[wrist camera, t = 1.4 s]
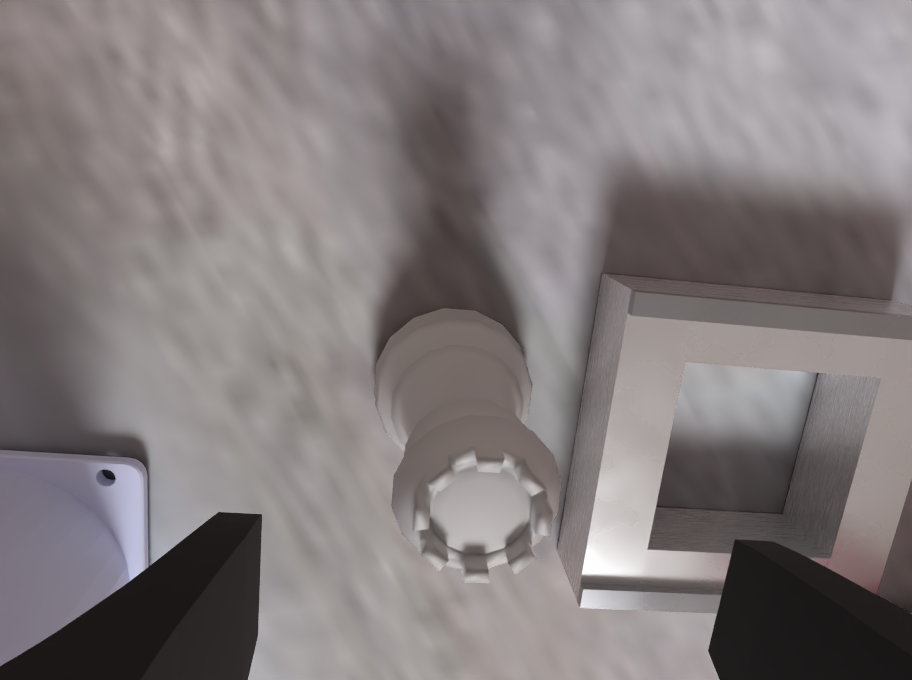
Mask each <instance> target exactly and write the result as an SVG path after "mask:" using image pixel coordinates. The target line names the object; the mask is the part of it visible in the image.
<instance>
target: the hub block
mask: <svg viewBox="0 0 912 680" xmlns="http://www.w3.org/2000/svg"><path fill="white" fill-rule="evenodd" d="M685 362H691V363H704V364H716V365H728V366H741V367H753V368H765V369H778V370H790V371H802V372H815V373H818V377H817V381H816V385H815V389H814V393H813V397H812V401H811V405H810V408H809V412H808V416H807V420H806V424H805V428H804V432H803V436H802V440H801V444H800V448H799V452H798V455H797V459H796V463H795V467H794V471H793V475H792V479H791V483H790V487H789V491H788V495H787V498H786V502H785V506H784V510H783V514H772V513H754V512H737V511H719V510H701V509H684V508H666V507H656V504H657V499H658V494H659V489H660V484H661V480H662V475H663V470H664V465H665V460H666V455H667V450H668V445H669V440H670V435H671V430H672V425H673V420H674V415H675V410H676V405H677V400H678V395H679V390H680V385H681V380H682V375H683V370H684V365H685ZM911 480H912V306H910V305H906V304H903V303H899V302H896V301H891V300H880V299H869V298H859V297H848V296H838V295H827V294H816V293H806V292H795V291H784V290H774V289H763V288H753V287H742V286H731V285H721V284H710V283H700V282H689V281H678V280H668V279H657V278H646V277H636V276H625V275H615V274H604V273H602V278H601V284H600V290H599V296H598V302H597V309H596V315H595V321H594V327H593V333H592V339H591V345H590V352H589V358H588V364H587V370H586V376H585V382H584V389H583V395H582V401H581V407H580V413H579V419H578V426H577V432H576V438H575V444H574V450H573V456H572V462H571V469H570V475H569V481H568V487H567V493H566V499H565V506H564V512H563V518H562V524H561V530H560V536H559V542H558V549H557V552H558V555H559V557H560V559H561V562H562V564H563V567H564V569H565V572H566V574H567V577H568V579H569V582H570V584H571V587H572V589H573V592H574V594H575V597H576V599H577V602H578V604H579V607H580V608H594V609H619V610H645V611H670V612H695V613H717V612H718V608H719V604H720V599H721V595H722V591H723V587H724V583H725V578H726V574H727V570H728V566H729V562H730V557H731V553H732V549H733V545H734V541H735V539H740V540H759V541H773V542H775V543H778V544H780V545H782V546H785V547H787V548H789V549H791V550H793V551H796V552H798V553H800V554H802V555H804V556H806V557H808V558H810V559H812V560H813V561H815V562H817V563H819V564H821V565H823V566H825V567H827V568H829V569H830V570H832V571H834V572H836V573H838V574H840V575H841V576H843V577H845V578H847V579H849V580H851V581H852V582H854V583H856V584H858V585H860V586H861V587H863V588H865V589H867V590H869V591H870V592H872V593H874V594H876V595H877V591H878V588H879V585H880V582H881V578H882V575H883V572H884V569H885V565H886V562H887V559H888V556H889V552H890V549H891V546H892V542H893V539H894V536H895V533H896V529H897V526H898V523H899V520H900V516H901V513H902V510H903V507H904V503H905V500H906V497H907V493H908V490H909V487H910V484H911Z"/></svg>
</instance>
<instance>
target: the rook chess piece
mask: <svg viewBox="0 0 912 680" xmlns="http://www.w3.org/2000/svg"><path fill="white" fill-rule="evenodd" d="M531 391H532V382H531V378H530V375H529V372H528V368H527V365H526V361H525V358H524V356H523V352H522V349H521V346H520V345H519V344H518V343H517V342H516V340H515V339H514V338H513V337H512V336H511V334H510V333H509V332H508V331H507V330H506V328H505V327H504V326H503V325H502V324H501V323H499V322H497V321H495V320H493V319H491V318H489V317H487V316H485V315H483V314H481V313H479V312H477V311H475V310H462V309H449V308H442V309H439V310H436V311H433V312H430V313H427V314H424V315H420V316H417V317H414V318H413V319H411V320H410V321H409V322H408V323H407V324H405V325H404V326H403V327H402V328H401V329H399V330H398V331H397V332H396V333H395V334H393V335H392V336H391V337H390V338H389V340H388V342H387V344H386V346H385V348H384V350H383V352H382V354H381V356H380V357H379V359H378V361H377V363H376V371H375V386H374V395H375V398H376V401H375V405H376V407H377V410H378V413H379V416H380V418H381V421H382V424H383V426H384V429H385V432H386V433H387V434H388V435H389V436H390V437H391V438H392V439H393V441H394V442H395V443H396V444H397V445H398V446H399V447H400V448H401V449H402V450H403V451H404V458H403V460H402V461H401V463H400V465H399V467H398V469H397V471H396V472H395V474H394V480H393V493H392V509H393V512H394V514H395V517H396V520H397V522H398V525H399V528H400V530H401V533H402V535H403V536H404V537H405V538H406V539H407V540H408V541H409V542H410V543H411V544H412V545H413V546H414V547H415V548H416V549H417V550H418V551H419V552H420V553H421V555H422V556H423V557H424V558H425V559H426V560H427V561H428V562H429V563H430V564H431V565H432V566H433V567H434V568H435V569H436V570H437V571H438V572H439V571H440V570H441V569H442V568H443V567H444V566H445V565H446V566H448V567H451V568H457V569H461V574H462V581H463V582H472V583H489V573H488V568H491V567H494V566H498V565H501V564H504V563H507V562H508V564H509V565H510V567H511V568H512V570H513V572H514V573H515V575H516V574H517V573H519V572H520V571H521V570H522V569H524V568H525V567H526V566H528V565H529V564H530V563H532V562H533V561H534V560H536V556H535V553H534V550H533V546H534V545H536V544H537V543H538V542H540V541H541V540H542V538H543V537H544V536H548V537H550V533H551V526H552V522H553V520H554V519H555V517H556V515H557V513H558V507H559V500H560V493H561V486H562V483H561V479H560V476H559V472H558V469H557V465H556V462H555V459H554V455H553V454H552V453H551V451H550V450H549V449H548V448H547V447H546V446H545V445H544V443H543V442H542V441H541V440H540V439H539V438H538V437H537V435H536V434H535V433H534V432H533V431H531V430H529V429H527V428H526V426H525V425H524V423H525V421H526V419H527V418H528V414H529V406H530V399H531Z"/></svg>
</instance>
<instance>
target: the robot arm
mask: <svg viewBox="0 0 912 680" xmlns="http://www.w3.org/2000/svg"><path fill="white" fill-rule="evenodd" d="M104 469H106V470H110V471H112V472H113V473H114V474H115V478H116V479H115V480H110V479H107V478H106V477H105V476H104V475H103V472H102V470H104ZM261 527H262V514H243V513H224V512H218V513H217V514H216V515H214V516H213V517H212V518H210V519H209V520H208V521H206V522H205V523H204V524H203V525H201V526H200V527H199V528H198V529H196V530H195V531H194V532H192V533H191V534H190V535H189V536H187V537H186V538H185V539H184V540H182V541H181V542H180V543H179V544H177V545H176V546H175V547H174V548H172V549H171V550H170V551H168V552H167V553H166V554H165V555H163V556H162V557H161V558H160V559H158V560H157V561H156V562H154V563H153V564H152V565H150V566H149V563H148V492H147V471H146V468H145V467H144V465H143V464H142V463H141V462H140V461H138V460H136V459H133V458H129V457H112V456H96V455H79V454H62V453H45V452H28V451H12V450H0V680H248V676H249V672H250V667H251V663H252V659H253V654H254V650H255V645H256V641H257V637H258V614H259V585H260V556H261ZM708 651H709V654H710V656H711V659H712V662H713V664H714V667H715V669H716V672H717V674H718V677H719V679H720V680H912V614H910V613H909V612H907V611H905V610H903V609H901V608H899V607H898V606H896V605H894V604H892V603H890V602H889V601H887V600H885V599H883V598H881V597H880V596H878V595H876V594H874V593H872V592H870V591H869V590H867V589H865V588H863V587H861V586H860V585H858V584H856V583H854V582H852V581H851V580H849V579H847V578H845V577H843V576H841V575H840V574H838V573H836V572H834V571H832V570H830V569H829V568H827V567H825V566H823V565H821V564H819V563H817V562H815V561H813V560H812V559H810V558H808V557H806V556H804V555H802V554H800V553H798V552H796V551H793V550H791V549H789V548H787V547H785V546H782V545H780V544H778V543H775V542H773V541H759V540H740V539H735V541H734V545H733V549H732V553H731V557H730V562H729V566H728V570H727V574H726V578H725V583H724V587H723V591H722V595H721V599H720V604H719V608H718V612H717V616H716V620H715V625H714V629H713V633H712V637H711V641H710V646H709V650H708Z"/></svg>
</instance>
